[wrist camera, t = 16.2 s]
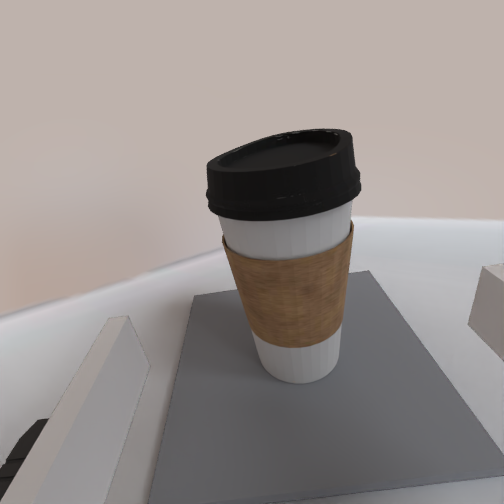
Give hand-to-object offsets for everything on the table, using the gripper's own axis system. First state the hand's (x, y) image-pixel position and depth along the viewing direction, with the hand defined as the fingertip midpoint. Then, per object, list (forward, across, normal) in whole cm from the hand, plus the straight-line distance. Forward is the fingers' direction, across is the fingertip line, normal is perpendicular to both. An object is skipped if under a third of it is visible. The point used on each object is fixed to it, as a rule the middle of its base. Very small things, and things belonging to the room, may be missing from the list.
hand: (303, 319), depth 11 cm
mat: (+8, 0, -10) cm, 13 cm away
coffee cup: (+7, 0, -10) cm, 12 cm away
